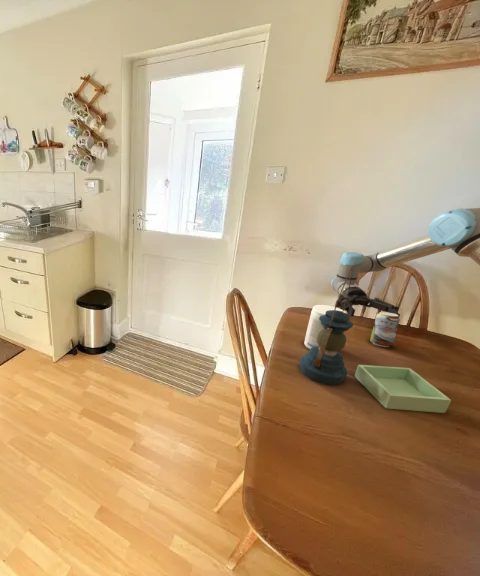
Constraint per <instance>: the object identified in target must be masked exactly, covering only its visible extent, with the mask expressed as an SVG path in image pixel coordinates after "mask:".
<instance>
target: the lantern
mask: <svg viewBox="0 0 480 576" xmlns="http://www.w3.org/2000/svg"><path fill="white" fill-rule="evenodd" d="M350 271H351V274H350V282H349V289H348V293H347V297H348V294H349V290H350V283H351V275H352V266H351V268H350ZM350 271H349V273H350ZM349 273H348V275H347V278H348V276H349ZM347 278H346V280H345V282H344V285H345V283H346V281H347ZM344 285H343V287H342V290H343V288H344ZM342 290H341V292H340V294H338V296H339V297H340V295H341V293H342ZM338 296H337V299H338V300H339V297H338ZM347 297H346V300H344V301H345V304H346V301H347ZM337 299H336V301H337V303H338V300H337ZM337 303H336V302H335V304H336V306H337ZM345 304H344V307H343V311H345V310H344V308H345ZM336 306H335V305H334V307H335V309H334V310H329V311H326V313H325V315H322V316H320V317H319V320H320V321H321V324H322V325H323V327H324V329H322V330H320V331H319V333H318V336H317V343H318V345H319V346H316V347H312V348H311V349H309V350H308V351H307V352H306V354H304V355H302V356H301V357H300V360H299V369H300V371H301V373H302V374H303V375H304V376H306V377H307V378H308V379H309V380H312V381H314V382H317V383H319V384H324V385H328V386H329V385H331V386H335V385H340V384H341V383H342V382H344V381H345V380H346V377H347V375H348V370H347V368H346V366H345V361H344V356H343V355H342V353H340V352H339V351H341V350H343V349H344V348H345V346H346V344H347V336H346V334H345V333H346V332H347V331H349V330H350V329H352V328H353V326H354V323H353V322H352V321H351V320H350V319H351V316H350V315H349V314H348V313H347V312H346V313H344V312H343V311H338V310H336V308H337V307H336Z"/></svg>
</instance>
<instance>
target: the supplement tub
mask: <svg viewBox="0 0 480 576" xmlns="http://www.w3.org/2000/svg"><path fill="white" fill-rule="evenodd" d="M334 309H335V306H333V305H328V304H327V305H326V304H316V305H314V306H313V307H312V310H311V312H310V316H309V320H308V323H307V328H306V333H305V337H304V342H303V343H304V346H305V347H306V348H307V349H308V350H310V349H311V348H312V347H316V346H319V345H318V343H317V336H318V333H319V331H320V330H322V329H324V327H323V325H322V324H321V321H320V320H319V317H320V316H322V315H325V313H326V311H329V310H334ZM336 310H338V311H343V310H342V309H340V307H336ZM343 312H344V313H346V314H347V311H345V310H344V311H343Z"/></svg>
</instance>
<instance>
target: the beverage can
mask: <svg viewBox="0 0 480 576" xmlns="http://www.w3.org/2000/svg"><path fill="white" fill-rule="evenodd" d="M400 321H401V319H400V317H398V315H397V314H393V313H389V312H384V311H379V312H378V313H377V314H376V316H375V319H374V324H373V328H372V330H371V335H370V339H369V340H370V342H371V343H372V344H373V345H375V346H378V347H381V348H389V347H392V346H394V342H395V338H396V335H397V332H398V328H399V325H400Z"/></svg>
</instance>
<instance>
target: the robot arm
mask: <svg viewBox="0 0 480 576" xmlns="http://www.w3.org/2000/svg"><path fill="white" fill-rule="evenodd" d="M450 249H451V251H453V252H454V253H455V254H456V255H457V256H458V257H464V258H466V257H467V258H470V259H471V260H472V261H473V262H475V264H477V265H478V266H480V207H475V208H455V209H451V210H447V211H444V212H442V213H440V214H437V216H436V217H435V218H433V220H432V221H431V222H430V224H429V227H428V232H427V234H426V235H423V236H421V237H417V238H415V239H412V240H409V241H406V242H404V243H401V244H398V245H395V246H392V247H390V248H386V249H383V250H381V251H379V252H375V253H373V254H368V255H364V254H362V253H361V252H357V251H356V252H355V251H345V252H344V253H343V254H342V256H341V259H340V260H339V264H338V269H337V273H336V276H335V277H333V278H332V279H331V281H330V285H331V288H332V289H333V291H334V292H335V293H337V294H338V296H337V299H336V301H335V304H334V307H335V306H336V303H337V300H338V297H339V294H340V292H341V290H342V287H343V285H344V282H345V280H346V278H347V275H348V273H349V271H350V268H351V266H352V275H351V283H350V290H349V294H348V297H347V293H348V289H349V282H350V274H351V271H350V273H349V276H348V278H347V281H346V283H345V285H344V288H343V290H342V293H341V295H340V297H339V300H338V303H337V306H336V308H339V309H342V310H343V307H344V304H345V300H346V297H347V301H346V304H345V308H344V311H345V312H346V313H347V314H348V315H349V316H350V317H354V315H355V312H356V309H355V308H354V307H353V306H361V307H366V308H373V309H375V310H379V311H381V312H389V313H393V314H397V315H398V317H399V318H400V316H401V313H399V309H400V308H399V306H397V305H395V304H393V303H389V302H387V301H385V300H382V299H380V298H378V297H374V298H371V297H368V296H367V293H366V291H364V290H363V289H362V288H361V287H360V286H359V285H358V284H357V280H358V277H359V274H362V273H371V272H383V271H385V270H387V269H388V268H391V267H395V266H397V265H401V264H403V263H404V264H405V263H406V262H407V263H408V262H410V261H413V260H417V259H420V258H423V257H427V256H430V255H433V254H437V253H441V252H444V251H448V250H450Z"/></svg>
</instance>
